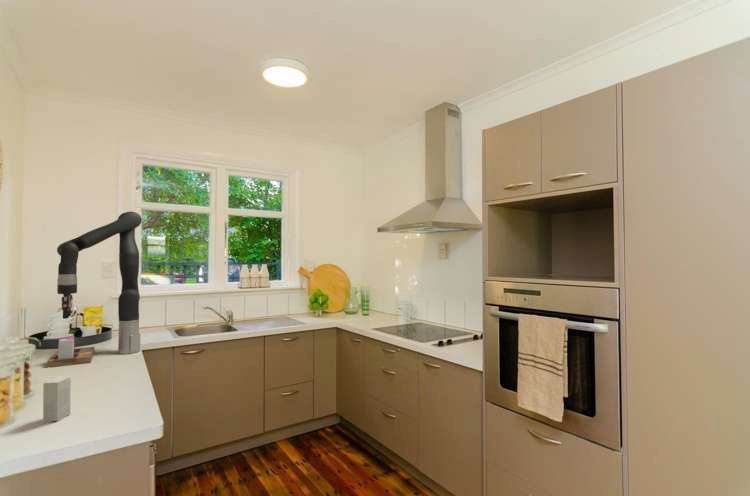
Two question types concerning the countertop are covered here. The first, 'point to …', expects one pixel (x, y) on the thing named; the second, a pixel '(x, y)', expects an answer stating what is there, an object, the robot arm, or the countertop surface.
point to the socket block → (79, 358)
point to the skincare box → (56, 399)
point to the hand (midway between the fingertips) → (66, 317)
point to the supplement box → (66, 348)
